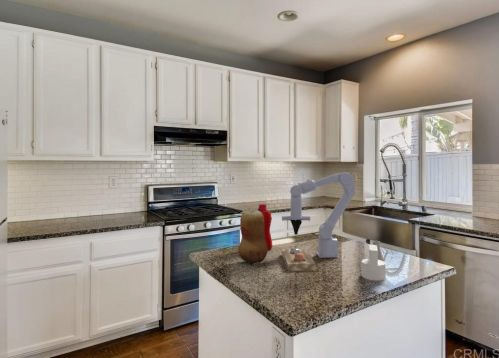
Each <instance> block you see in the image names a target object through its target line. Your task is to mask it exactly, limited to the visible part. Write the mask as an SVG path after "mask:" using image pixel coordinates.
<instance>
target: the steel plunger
mask: <svg viewBox="0 0 499 358" xmlns="http://www.w3.org/2000/svg"><path fill="white" fill-rule="evenodd" d="M290 249H291V254H296V253H299V249H300V248H298V247H292V248H290Z"/></svg>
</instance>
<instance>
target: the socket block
mask: <svg viewBox="0 0 499 358" xmlns="http://www.w3.org/2000/svg"><path fill="white" fill-rule="evenodd" d="M299 253H302V254H304V261H295V254H291V248H285V249H284V248H282V249H281V257H282V259H283V261H285V262H284V264H285V267H286V269H287V271H288V272H297V271H298V272H299V271H303V272H304V271H305V272H308V271H316V262H315V261H314V260H313V258H312V257H311V255H310V254H309V252H308V251H307V249H306V248H299Z"/></svg>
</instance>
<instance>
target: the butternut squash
mask: <svg viewBox="0 0 499 358" xmlns="http://www.w3.org/2000/svg"><path fill="white" fill-rule="evenodd" d="M239 221H240V223H239V225H240V226H239V227H240V233H241V239H240V242H239V246H238V256H239V257H240V259H241V260H242V261H244V262H246V263H247V264H250V265H255V263H256V264H258V263H259V264H260V263H262V262H263V261H264V260H265V259H266V257H267V254H268V251H269V250H268V249H267V244H266V241H265V233H264V216H263V214H262V213H261V212H260V211H257V210H256V209H255V210H248V211H245V212H244V213H242V215H240V220H239Z"/></svg>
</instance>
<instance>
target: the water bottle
mask: <svg viewBox="0 0 499 358" xmlns="http://www.w3.org/2000/svg"><path fill="white" fill-rule="evenodd" d="M256 211H260V212H261V213H262V214H263V216H264V233H265V241H266V244H267V249H268V250H267V251H270V250H272V249H273V239H272V235H271V226H272V225H271V224H272V219H273V218H272V213H271V212H270V211H269V210H268V209H267V204H265V203H262V204H261V203H260V204H258V209H257V210H256ZM269 249H270V250H269Z"/></svg>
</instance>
